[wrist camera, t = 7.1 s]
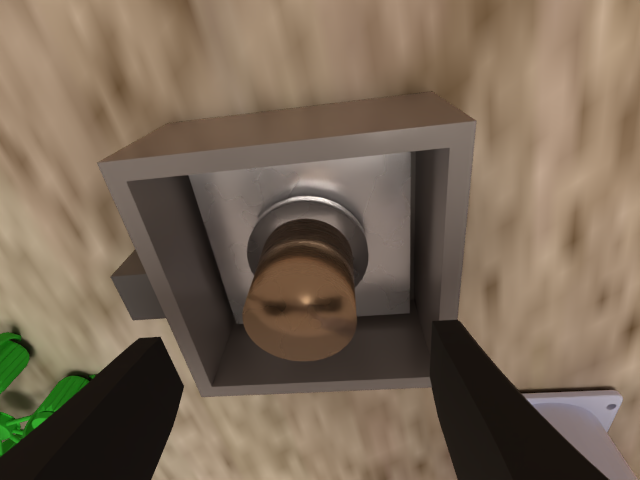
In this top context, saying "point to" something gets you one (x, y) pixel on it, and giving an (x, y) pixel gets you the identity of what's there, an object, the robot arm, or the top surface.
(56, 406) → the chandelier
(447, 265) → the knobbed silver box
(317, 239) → the plunger
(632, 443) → the top surface
